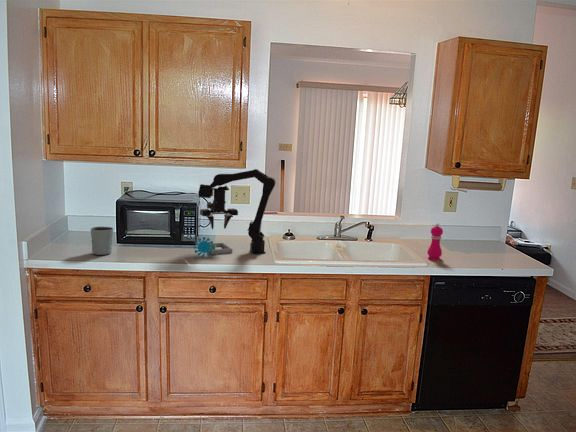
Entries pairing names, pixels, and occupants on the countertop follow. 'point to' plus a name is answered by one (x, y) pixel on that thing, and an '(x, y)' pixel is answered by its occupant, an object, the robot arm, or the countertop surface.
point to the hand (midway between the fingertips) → (218, 228)
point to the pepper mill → (435, 243)
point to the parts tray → (221, 251)
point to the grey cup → (101, 240)
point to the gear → (204, 246)
